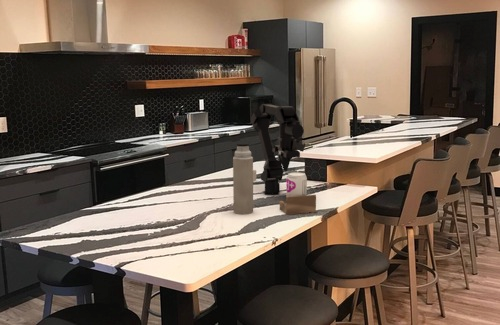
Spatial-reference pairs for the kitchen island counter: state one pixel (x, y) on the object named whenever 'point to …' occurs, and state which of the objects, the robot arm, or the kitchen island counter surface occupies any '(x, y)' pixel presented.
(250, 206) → the thermos bottle
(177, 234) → the kitchen island counter surface
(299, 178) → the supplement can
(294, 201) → the walnut dock
